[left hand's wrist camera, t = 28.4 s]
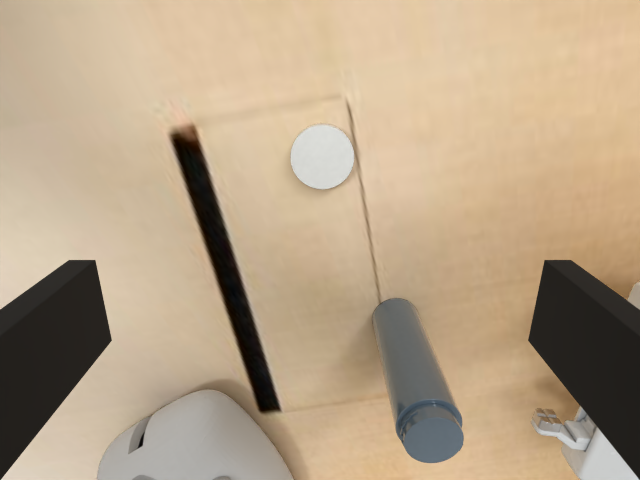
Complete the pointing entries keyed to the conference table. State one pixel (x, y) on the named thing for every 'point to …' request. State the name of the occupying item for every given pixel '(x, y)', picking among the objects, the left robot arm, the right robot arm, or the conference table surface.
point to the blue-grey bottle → (416, 384)
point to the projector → (194, 444)
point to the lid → (322, 156)
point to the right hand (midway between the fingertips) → (552, 379)
